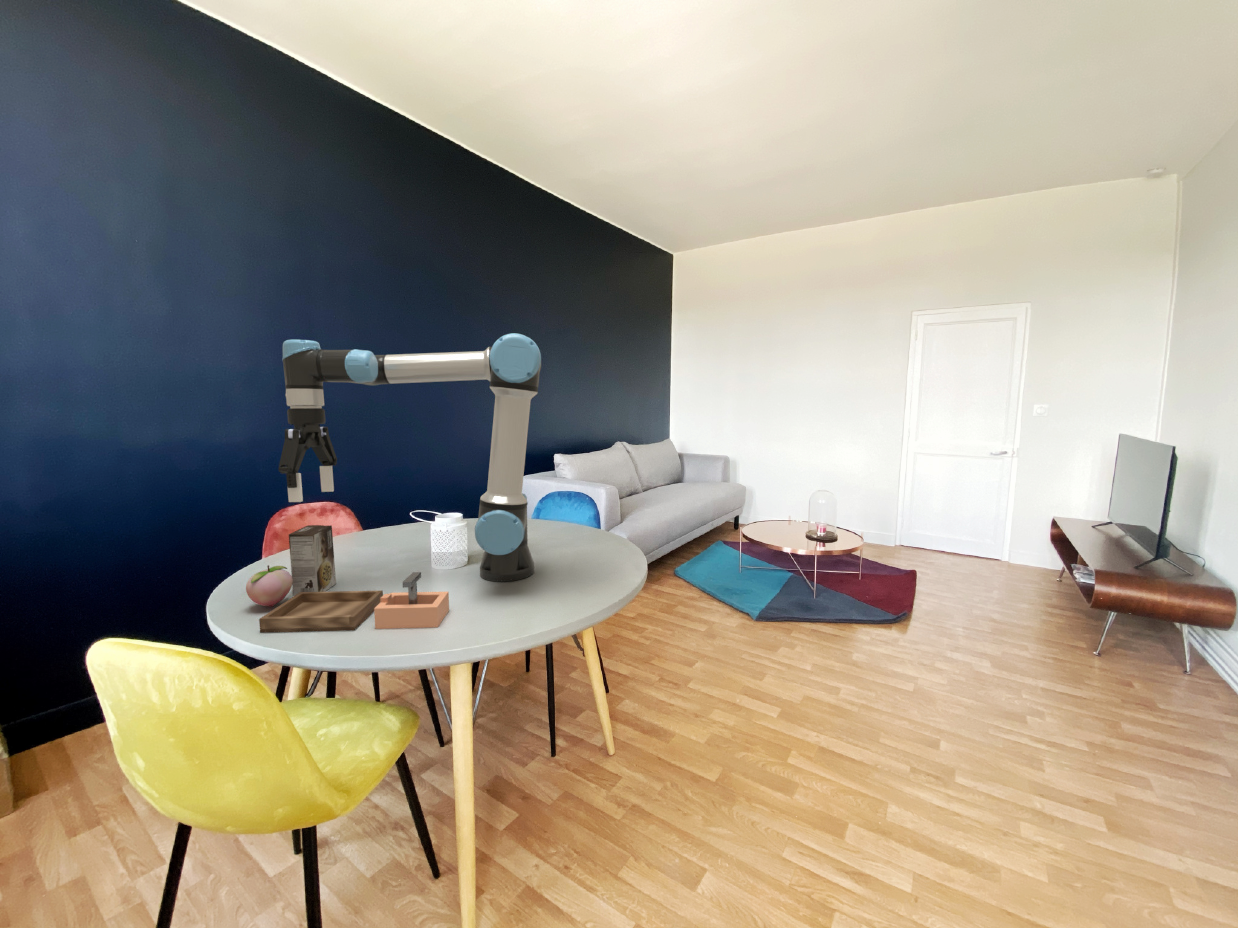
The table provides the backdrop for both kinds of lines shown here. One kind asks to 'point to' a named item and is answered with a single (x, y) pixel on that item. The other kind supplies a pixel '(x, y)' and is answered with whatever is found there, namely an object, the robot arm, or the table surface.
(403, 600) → the terracotta rectangular box
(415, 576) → the grey t-shaped block
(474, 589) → the table surface
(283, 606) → the tray
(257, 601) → the decorative fruit
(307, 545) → the coffee box
